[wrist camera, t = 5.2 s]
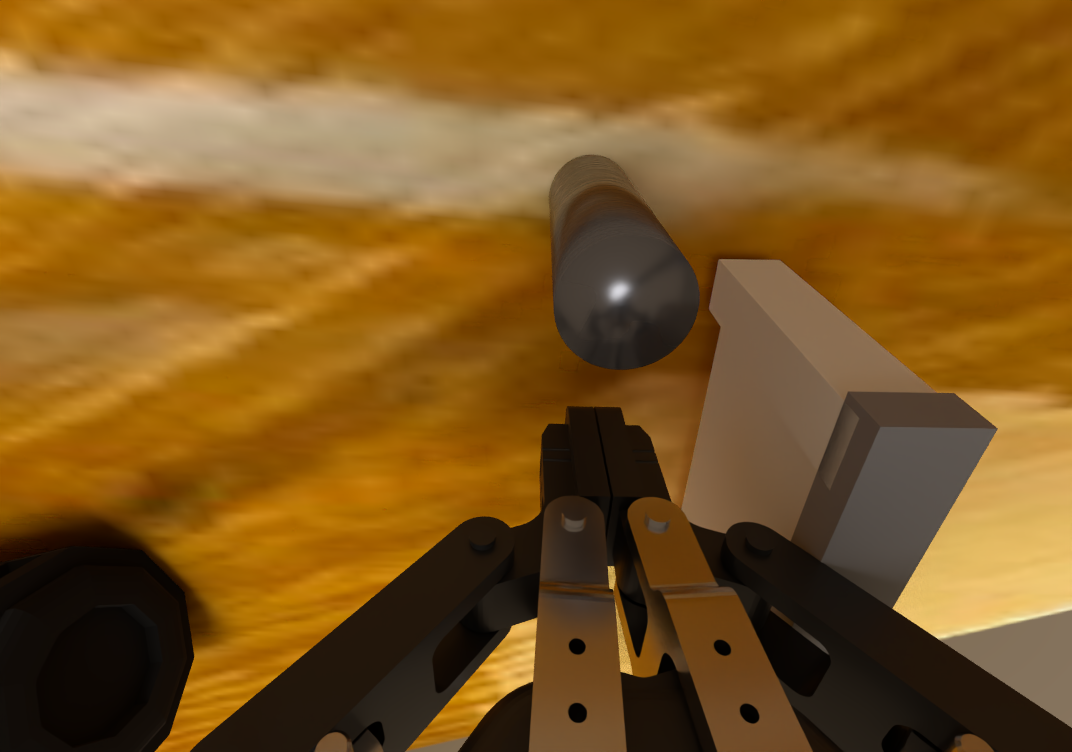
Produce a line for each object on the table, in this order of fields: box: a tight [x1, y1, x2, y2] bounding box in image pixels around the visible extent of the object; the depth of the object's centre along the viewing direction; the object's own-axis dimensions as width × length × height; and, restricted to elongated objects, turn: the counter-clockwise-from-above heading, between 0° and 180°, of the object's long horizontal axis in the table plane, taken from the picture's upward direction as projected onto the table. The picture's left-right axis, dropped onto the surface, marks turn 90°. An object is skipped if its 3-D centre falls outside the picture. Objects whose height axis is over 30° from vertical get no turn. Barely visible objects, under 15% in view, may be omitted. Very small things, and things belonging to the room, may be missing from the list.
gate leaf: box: [681, 259, 998, 654], centre depth 16 cm, size 17×2×8 cm, turn 179°
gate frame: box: [549, 155, 699, 370], centre depth 16 cm, size 3×24×11 cm, turn 12°
